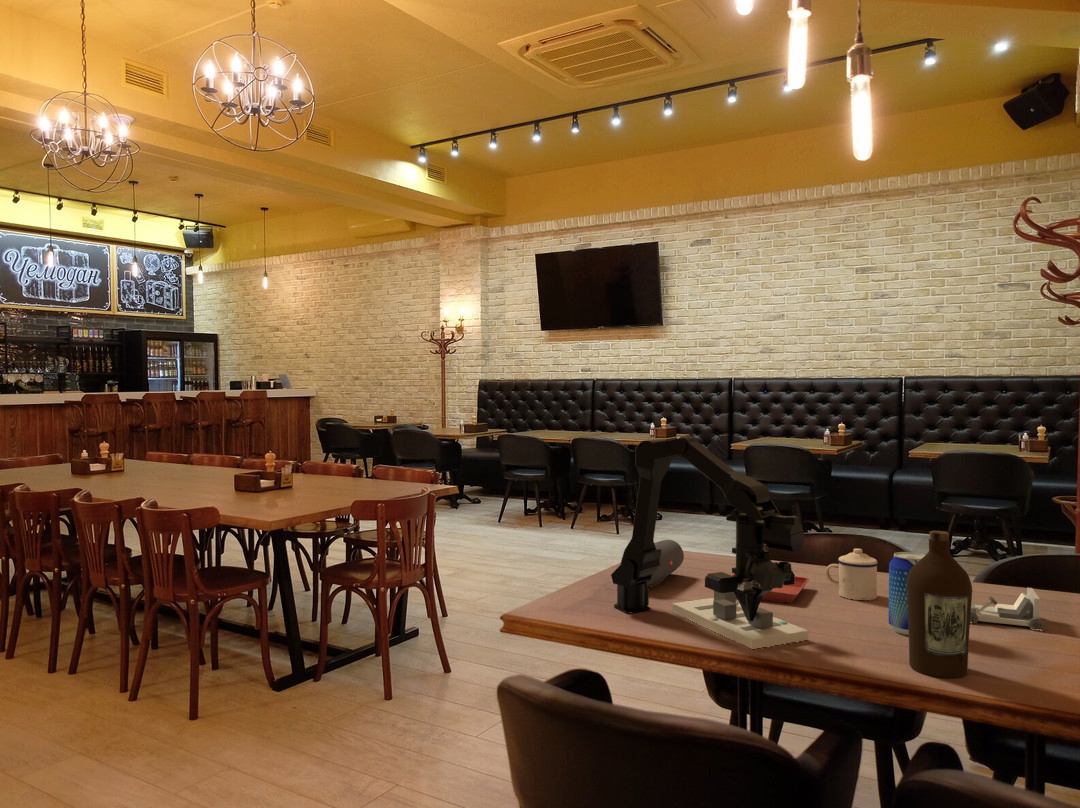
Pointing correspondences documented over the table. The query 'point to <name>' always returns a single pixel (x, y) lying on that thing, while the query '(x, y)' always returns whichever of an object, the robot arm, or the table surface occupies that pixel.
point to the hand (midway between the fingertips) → (750, 620)
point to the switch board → (739, 625)
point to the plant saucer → (785, 591)
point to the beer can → (900, 589)
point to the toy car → (1011, 611)
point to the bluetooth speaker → (666, 561)
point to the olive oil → (939, 612)
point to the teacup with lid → (856, 576)
